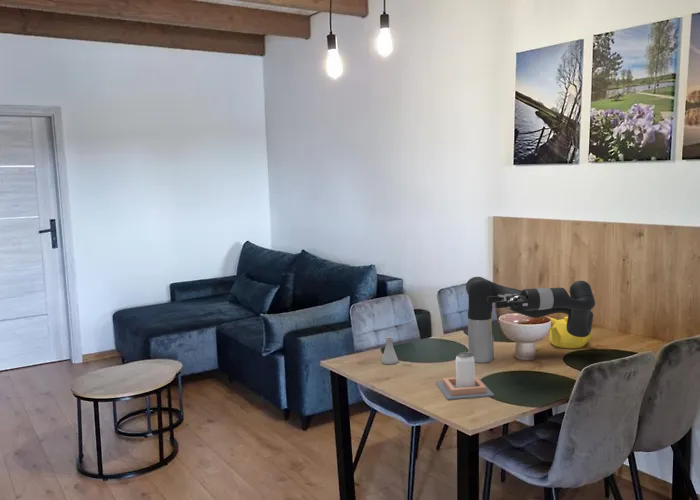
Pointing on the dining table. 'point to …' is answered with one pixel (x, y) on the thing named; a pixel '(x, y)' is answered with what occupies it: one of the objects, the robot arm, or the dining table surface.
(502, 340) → the dining table surface
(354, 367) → the dining table surface
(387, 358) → the flask
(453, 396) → the tray
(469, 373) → the can
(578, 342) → the teapot
